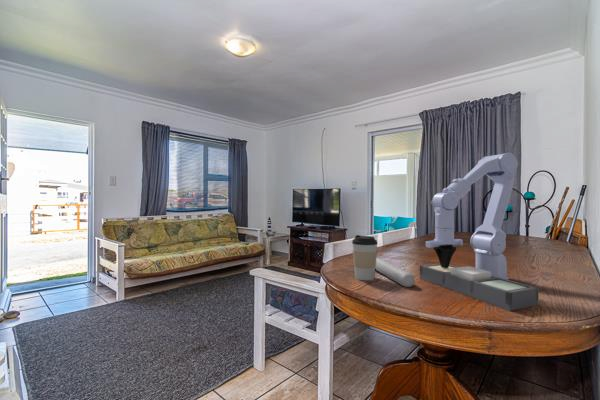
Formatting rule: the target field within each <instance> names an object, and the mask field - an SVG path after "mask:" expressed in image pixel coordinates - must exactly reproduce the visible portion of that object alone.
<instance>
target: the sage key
mask: <svg viewBox="0 0 600 400" xmlns="http://www.w3.org/2000/svg"><path fill="white" fill-rule="evenodd" d="M480 283H483V284H486V285H489V286H493V287H496V288H499V289H503V290H506V291H512V290H518V289H524V288H527V287H524V286H520V285H517V284H513V283H509V282H506V281H502V280H494V281H487V282H480Z"/></svg>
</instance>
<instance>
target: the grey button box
mask: <svg viewBox="0 0 600 400" xmlns="http://www.w3.org/2000/svg"><path fill="white" fill-rule="evenodd" d="M439 265H440V263H433V264H424V265H419V279H420V280H422V279H423V280H422V281H426V282H428V283H431V284H434V285H436V286H439V287H442V288H444V289H448V290H451V291H453V292H456V293H459V294H461V295H464V296H466V297H470V298H473V299H475V300H478V301H481V302H484V303H487V304H489V305H491V306H495V307H498V308H501V309H502V310H506V311H508V312H511V311H516V309H517V310H522V309H526V307H527V308H531V307H530V306H532V307H536V306H535V305H537V306H539V287H536V286H532V285H528V284H525V283H521V282H518V281H514V280H510V279H507V280H506V279H503V278H499V277H495V276H491V278H488V279H481V280H474V281H473V280H469V279H466V278H463V277H459V276H456V275H453V274H451V272H443V271H439V270H436V269H433V268H429V267H430V266H439ZM449 266H450V267H454V268H458V267H459V266H457V265H453V264H449ZM494 280H502V281H506V282H509V283H513V284H517V285H520V286H524V287H527V288H524V289H518V290H512V291H506V290H503V289H499V288H496V287H493V286H489V285H486V284H483V283H480V282H487V281H494ZM521 308H522V309H521Z"/></svg>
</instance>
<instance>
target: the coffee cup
mask: <svg viewBox="0 0 600 400" xmlns="http://www.w3.org/2000/svg"><path fill="white" fill-rule="evenodd" d="M351 241H352V242H351V243H352V257H353V258H352V259H353V260H352V261H353V266H354V277H355V279H356V280H360V281H373V280H375V275H376V270H375V267H376V257H378V256H377V255H378V249H377V248H378V240H377V239H376V238H375V236H370V235H360V234H359V235H358V234H356V235H355V236H354V239H352V240H351Z"/></svg>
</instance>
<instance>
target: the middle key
mask: <svg viewBox="0 0 600 400" xmlns="http://www.w3.org/2000/svg"><path fill="white" fill-rule="evenodd" d="M457 267H458V268H451V274H453V275H456V276H459V277H463V278H466V279H469V280H473V281H474V280H481V279H488V278H491V272H490V271H486V270H482V269H478V268H476V267H474V266H468V265H467V266H457Z"/></svg>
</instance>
